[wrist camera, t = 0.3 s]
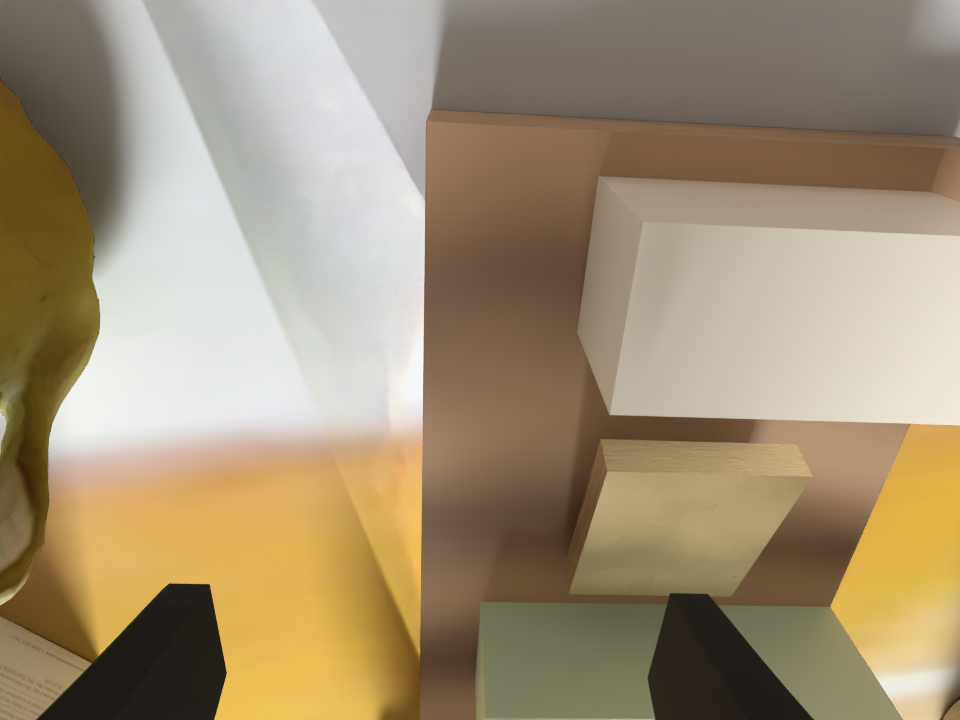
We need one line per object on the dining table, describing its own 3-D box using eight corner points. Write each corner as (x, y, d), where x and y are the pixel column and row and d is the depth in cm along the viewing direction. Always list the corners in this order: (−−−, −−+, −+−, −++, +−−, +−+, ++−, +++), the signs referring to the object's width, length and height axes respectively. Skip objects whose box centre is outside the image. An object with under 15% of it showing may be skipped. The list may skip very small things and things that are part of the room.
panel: (737, 703, 28) (779, 804, 24) (422, 701, 27) (416, 804, 23) (954, 136, 17) (1091, 165, 13) (430, 109, 16) (422, 131, 12)
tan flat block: (720, 566, 20) (730, 596, 19) (564, 563, 20) (568, 594, 19) (796, 444, 16) (813, 476, 15) (600, 438, 15) (607, 471, 15)
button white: (873, 342, 17) (984, 425, 13) (577, 332, 16) (609, 415, 13) (930, 192, 15) (1077, 240, 11) (598, 176, 14) (643, 221, 11)
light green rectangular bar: (796, 682, 23) (856, 798, 20) (475, 679, 23) (478, 799, 19) (829, 606, 21) (903, 720, 18) (481, 601, 21) (485, 717, 17)
